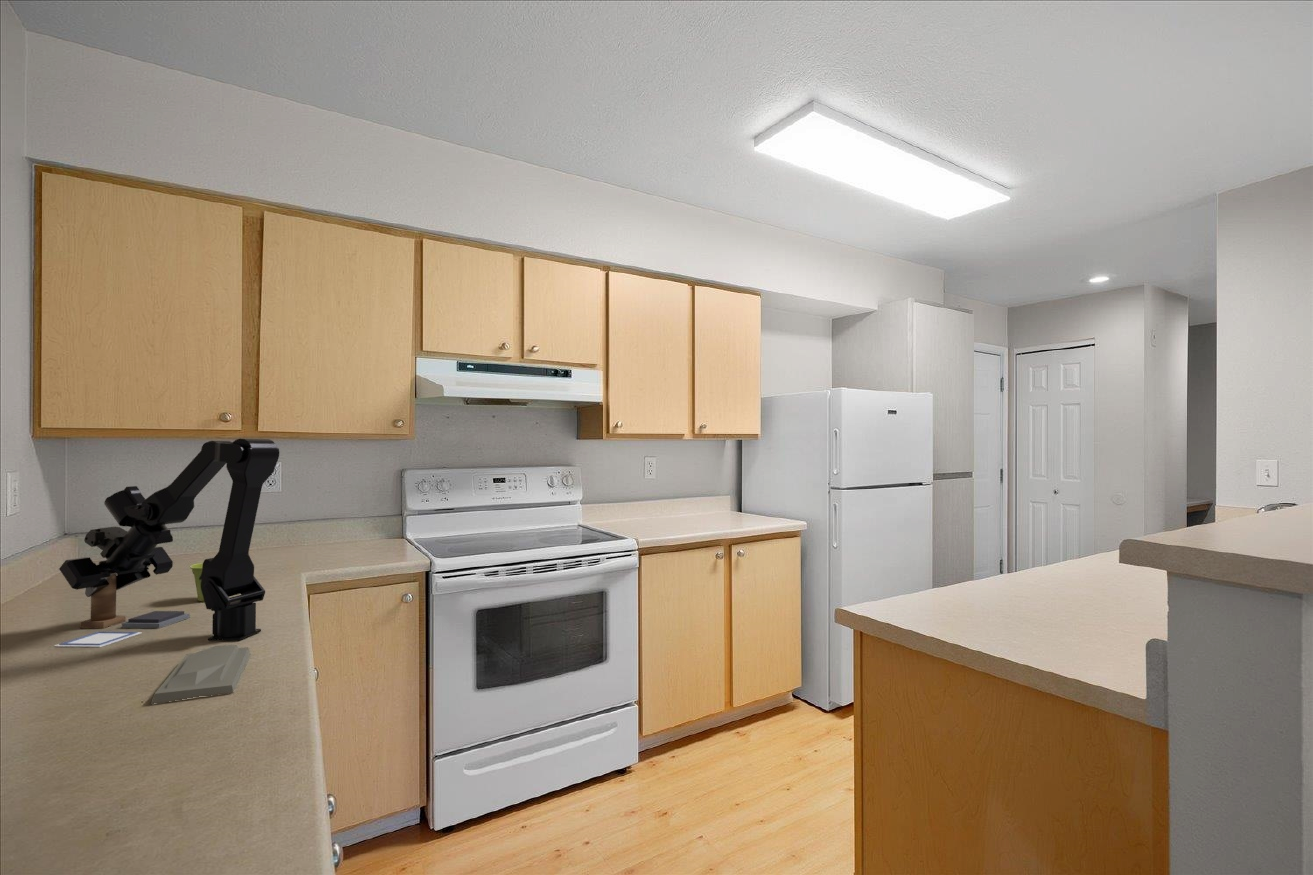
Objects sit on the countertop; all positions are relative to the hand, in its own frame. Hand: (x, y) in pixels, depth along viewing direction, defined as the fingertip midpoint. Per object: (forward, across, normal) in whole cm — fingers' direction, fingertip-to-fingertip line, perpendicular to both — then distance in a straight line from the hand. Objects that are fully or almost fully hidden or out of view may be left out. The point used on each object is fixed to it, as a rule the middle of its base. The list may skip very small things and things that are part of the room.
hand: (98, 592), depth 131 cm
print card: (-4, +8, +13) cm, 16 cm away
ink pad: (-3, -4, +12) cm, 13 cm away
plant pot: (+3, -24, +7) cm, 25 cm away
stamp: (+4, 0, +6) cm, 7 cm away
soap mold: (-31, +18, +42) cm, 55 cm away
